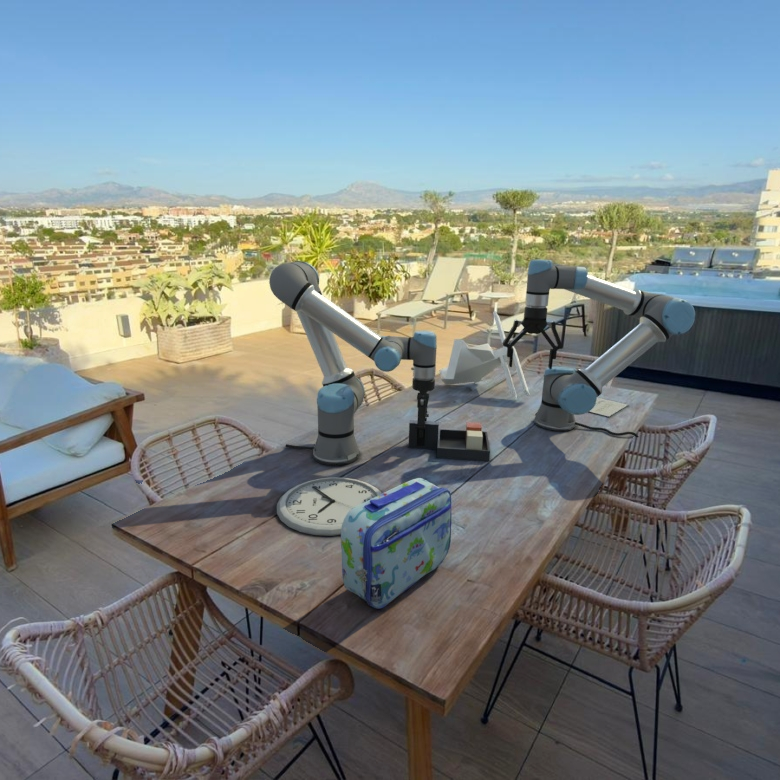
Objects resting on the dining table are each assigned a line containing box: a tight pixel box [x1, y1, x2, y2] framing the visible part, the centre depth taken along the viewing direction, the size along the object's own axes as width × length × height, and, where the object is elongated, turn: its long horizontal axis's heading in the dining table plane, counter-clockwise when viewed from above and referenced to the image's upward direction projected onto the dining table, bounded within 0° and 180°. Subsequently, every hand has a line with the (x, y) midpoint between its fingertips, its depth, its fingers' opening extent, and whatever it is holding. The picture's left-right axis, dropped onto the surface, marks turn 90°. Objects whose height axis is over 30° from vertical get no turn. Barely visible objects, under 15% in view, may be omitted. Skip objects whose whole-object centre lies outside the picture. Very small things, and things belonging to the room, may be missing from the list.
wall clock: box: [276, 476, 383, 537], centre depth 142 cm, size 30×2×30 cm
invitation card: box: [588, 397, 629, 418], centre depth 226 cm, size 21×1×15 cm
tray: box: [408, 419, 491, 462], centre depth 180 cm, size 27×17×9 cm, turn 83°
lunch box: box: [340, 477, 452, 610], centre depth 110 cm, size 26×11×21 cm, turn 134°
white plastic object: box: [438, 310, 531, 400], centre depth 245 cm, size 37×45×31 cm
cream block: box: [466, 430, 483, 450], centre depth 175 cm, size 5×5×7 cm
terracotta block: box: [465, 421, 483, 440], centre depth 183 cm, size 5×5×7 cm
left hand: (421, 440), depth 181 cm, fingers open, 9 cm apart
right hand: (530, 367), depth 184 cm, fingers open, 13 cm apart
